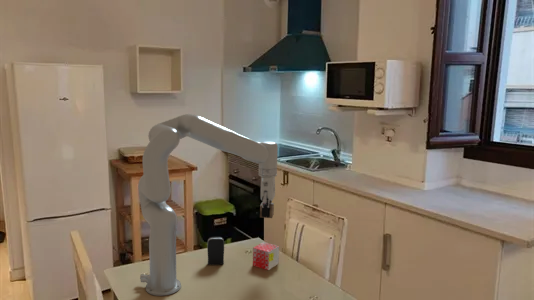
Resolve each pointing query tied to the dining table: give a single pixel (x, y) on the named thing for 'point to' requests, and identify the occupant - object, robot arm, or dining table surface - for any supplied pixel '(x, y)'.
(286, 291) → the dining table surface
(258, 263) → the puzzle cube
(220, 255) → the battery charger
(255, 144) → the robot arm
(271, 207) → the walnut block
